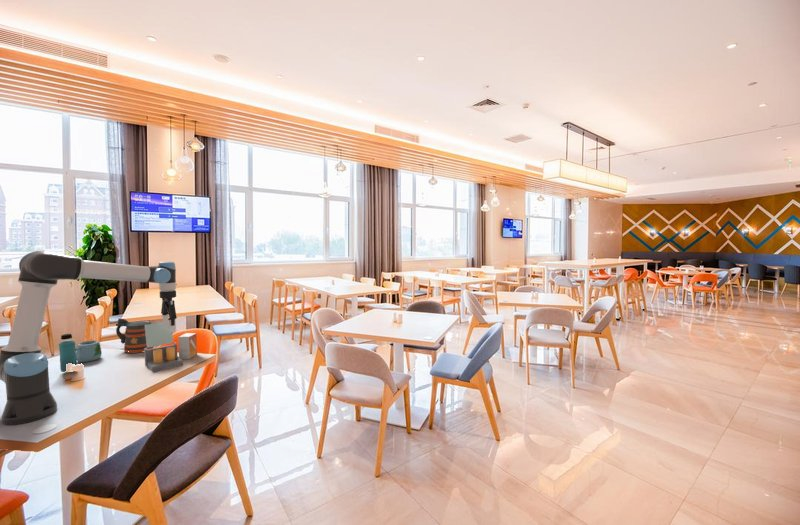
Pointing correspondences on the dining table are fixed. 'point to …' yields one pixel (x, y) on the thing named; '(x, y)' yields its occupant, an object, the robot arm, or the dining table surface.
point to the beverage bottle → (67, 352)
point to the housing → (160, 358)
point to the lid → (157, 335)
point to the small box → (187, 345)
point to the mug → (88, 351)
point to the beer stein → (133, 335)
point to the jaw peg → (170, 353)
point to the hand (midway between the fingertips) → (169, 329)
